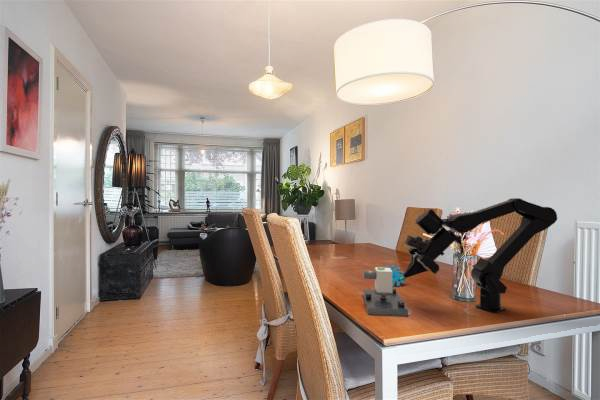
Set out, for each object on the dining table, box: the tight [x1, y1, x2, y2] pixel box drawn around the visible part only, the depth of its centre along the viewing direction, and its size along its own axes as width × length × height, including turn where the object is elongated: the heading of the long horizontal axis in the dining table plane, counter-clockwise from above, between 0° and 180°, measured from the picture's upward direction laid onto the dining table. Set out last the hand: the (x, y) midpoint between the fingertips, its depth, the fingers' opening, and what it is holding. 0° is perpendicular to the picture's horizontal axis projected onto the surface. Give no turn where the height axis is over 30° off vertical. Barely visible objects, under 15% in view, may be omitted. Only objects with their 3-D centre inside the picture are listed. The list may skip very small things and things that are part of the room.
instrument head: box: [363, 266, 393, 296], centre depth 107 cm, size 10×6×9 cm, turn 83°
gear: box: [385, 264, 408, 288], centre depth 132 cm, size 11×6×10 cm
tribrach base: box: [362, 288, 409, 317], centre depth 106 cm, size 12×20×3 cm, turn 173°
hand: (404, 276), depth 106 cm, fingers closed
